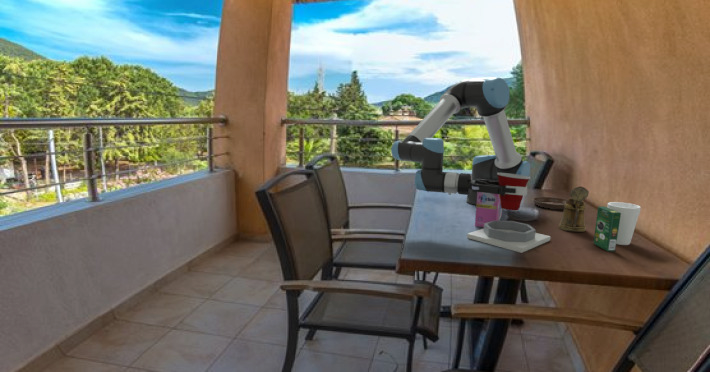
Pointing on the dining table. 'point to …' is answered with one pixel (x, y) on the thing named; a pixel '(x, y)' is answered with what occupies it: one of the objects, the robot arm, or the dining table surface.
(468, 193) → the robot arm
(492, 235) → the cup holder
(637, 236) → the dining table surface
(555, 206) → the plant saucer
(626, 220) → the foam cup
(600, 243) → the coffee box
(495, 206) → the gum box
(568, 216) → the wooden mug
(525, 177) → the plastic cup
